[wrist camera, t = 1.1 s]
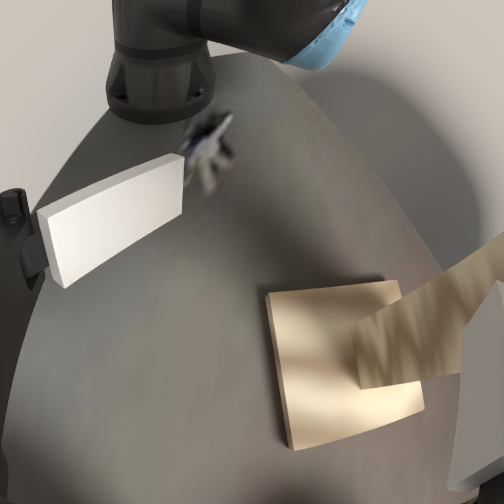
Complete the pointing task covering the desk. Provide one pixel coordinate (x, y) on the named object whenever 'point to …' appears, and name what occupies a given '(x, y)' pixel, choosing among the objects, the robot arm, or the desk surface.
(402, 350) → the birch stand
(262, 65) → the desk surface
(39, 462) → the desk surface
